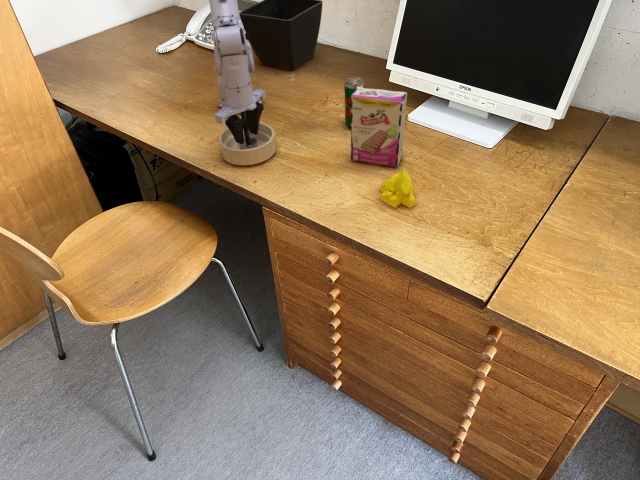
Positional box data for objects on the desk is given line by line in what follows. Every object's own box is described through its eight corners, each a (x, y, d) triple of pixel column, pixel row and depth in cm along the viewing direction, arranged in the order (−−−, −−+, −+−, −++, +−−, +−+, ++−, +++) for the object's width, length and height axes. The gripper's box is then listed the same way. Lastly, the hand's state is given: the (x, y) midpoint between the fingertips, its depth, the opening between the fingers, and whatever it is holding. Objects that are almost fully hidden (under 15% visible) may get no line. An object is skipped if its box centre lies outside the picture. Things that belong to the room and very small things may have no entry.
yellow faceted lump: (392, 183, 103) (394, 153, 98) (421, 200, 99) (424, 168, 93) (373, 195, 101) (374, 164, 95) (402, 212, 96) (404, 181, 91)
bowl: (211, 157, 115) (207, 140, 112) (247, 132, 123) (244, 117, 119) (251, 173, 109) (248, 156, 106) (287, 147, 116) (285, 130, 113)
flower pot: (245, 67, 153) (236, 11, 142) (279, 46, 165) (273, -7, 153) (294, 77, 145) (289, 20, 134) (326, 55, 157) (324, 0, 146)
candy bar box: (350, 162, 110) (349, 95, 99) (356, 150, 114) (356, 85, 102) (397, 169, 107) (402, 101, 96) (402, 157, 111) (407, 90, 99)
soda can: (363, 130, 120) (363, 85, 112) (343, 129, 121) (342, 84, 113) (366, 120, 124) (366, 76, 116) (346, 119, 125) (346, 75, 117)
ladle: (236, 151, 115) (228, 109, 107) (248, 143, 118) (241, 101, 110) (250, 156, 113) (242, 113, 105) (262, 148, 116) (255, 105, 108)
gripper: (227, 100, 98) (238, 157, 107) (272, 74, 106) (279, 128, 115) (203, 93, 101) (216, 148, 110) (249, 68, 109) (257, 121, 119)
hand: (247, 137), depth 113 cm, fingers open, 4 cm apart
